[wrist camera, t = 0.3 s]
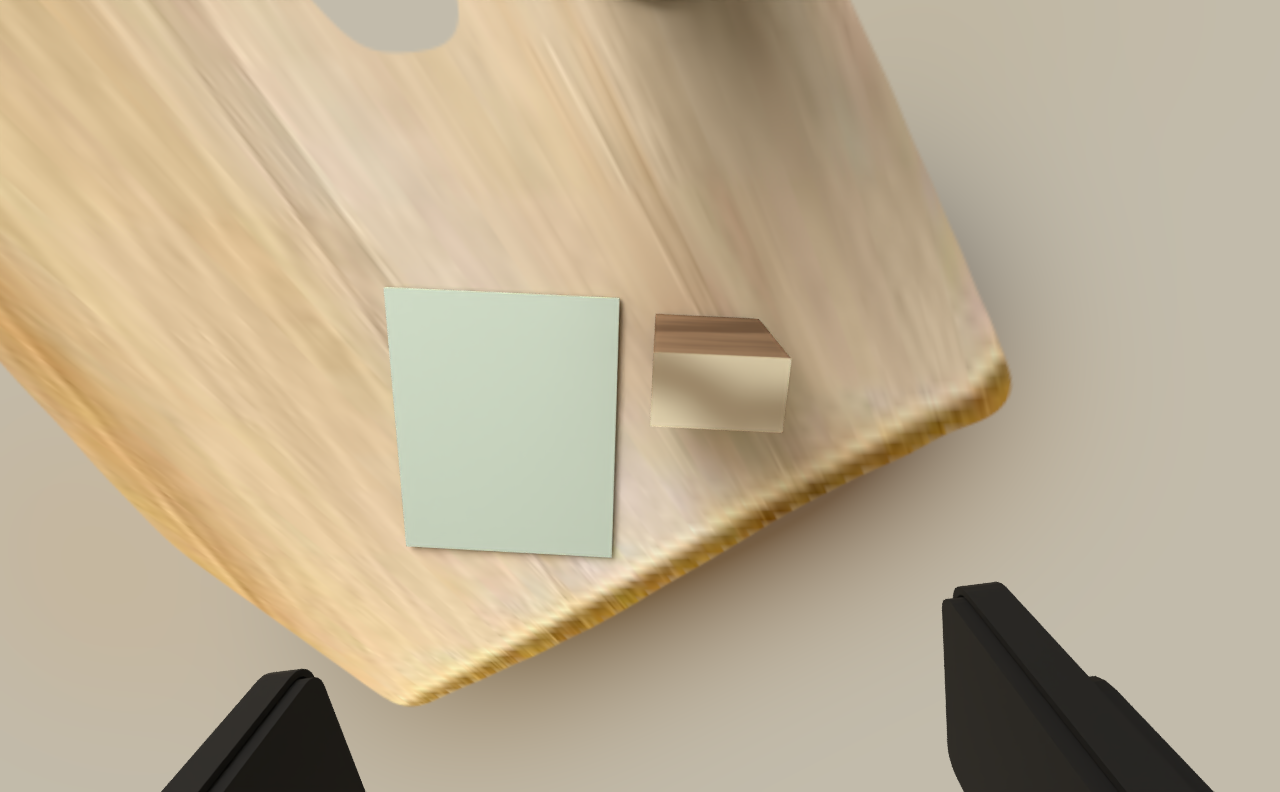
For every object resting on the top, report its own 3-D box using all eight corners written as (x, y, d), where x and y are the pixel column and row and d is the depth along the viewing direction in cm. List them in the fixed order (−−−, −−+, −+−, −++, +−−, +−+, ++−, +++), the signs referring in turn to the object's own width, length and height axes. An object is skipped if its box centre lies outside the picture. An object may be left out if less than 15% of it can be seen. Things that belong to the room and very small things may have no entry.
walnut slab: (655, 314, 41) (653, 352, 31) (758, 318, 41) (791, 359, 31) (653, 370, 43) (650, 426, 32) (752, 375, 43) (782, 433, 32)
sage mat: (386, 287, 42) (383, 287, 41) (619, 297, 41) (619, 298, 41) (408, 543, 48) (406, 546, 47) (611, 554, 47) (611, 557, 47)
